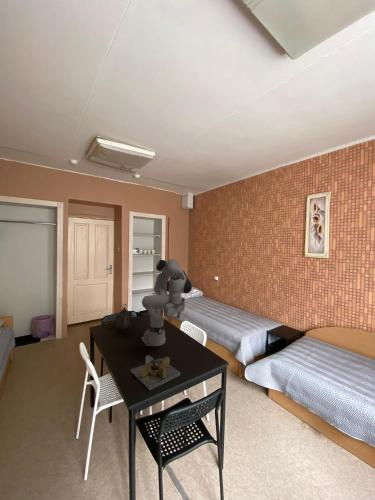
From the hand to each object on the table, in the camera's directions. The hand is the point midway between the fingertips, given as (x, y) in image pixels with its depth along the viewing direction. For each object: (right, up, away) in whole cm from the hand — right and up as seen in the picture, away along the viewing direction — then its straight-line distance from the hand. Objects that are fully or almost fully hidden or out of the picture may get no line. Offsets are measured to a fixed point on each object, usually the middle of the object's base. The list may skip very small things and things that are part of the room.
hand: (174, 319), depth 149 cm
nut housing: (-11, -29, -15) cm, 34 cm away
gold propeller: (-11, -26, -15) cm, 32 cm away
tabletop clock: (-51, -28, +53) cm, 79 cm away
